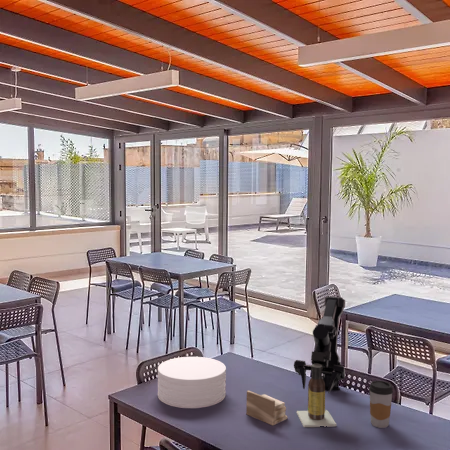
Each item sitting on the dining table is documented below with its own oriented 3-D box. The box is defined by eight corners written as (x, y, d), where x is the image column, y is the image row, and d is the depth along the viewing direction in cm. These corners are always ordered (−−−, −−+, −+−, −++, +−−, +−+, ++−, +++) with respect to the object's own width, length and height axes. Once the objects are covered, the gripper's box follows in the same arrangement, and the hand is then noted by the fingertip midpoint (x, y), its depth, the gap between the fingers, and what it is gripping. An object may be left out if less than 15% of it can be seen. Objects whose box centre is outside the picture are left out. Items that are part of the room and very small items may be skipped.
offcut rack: (261, 407, 206) (262, 385, 205) (287, 418, 196) (288, 394, 196) (246, 414, 199) (246, 391, 199) (272, 425, 190) (273, 401, 190)
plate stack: (185, 414, 199) (185, 385, 198) (144, 392, 220) (144, 365, 219) (239, 396, 217) (239, 369, 216) (197, 377, 238) (197, 352, 237)
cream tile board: (327, 412, 202) (327, 410, 202) (336, 426, 190) (336, 424, 190) (296, 413, 201) (296, 410, 201) (303, 427, 189) (303, 425, 189)
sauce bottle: (314, 411, 200) (315, 360, 199) (328, 417, 196) (329, 364, 194) (304, 417, 196) (305, 364, 194) (318, 422, 191) (319, 369, 190)
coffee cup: (392, 421, 195) (393, 381, 194) (391, 431, 187) (392, 390, 186) (368, 417, 198) (370, 378, 197) (367, 427, 190) (368, 386, 189)
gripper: (295, 339, 201) (287, 377, 191) (345, 344, 194) (340, 384, 185) (299, 353, 209) (292, 390, 199) (347, 359, 202) (342, 397, 193)
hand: (316, 390), depth 194 cm, fingers open, 9 cm apart
